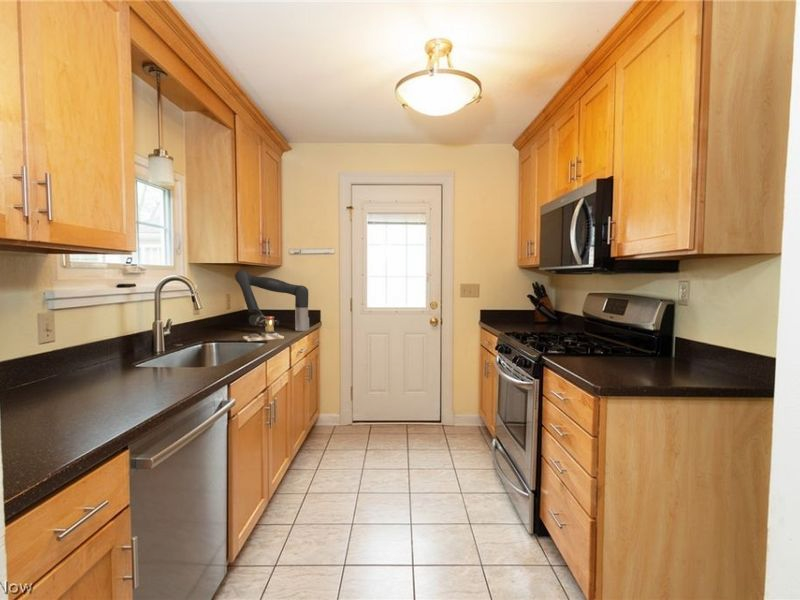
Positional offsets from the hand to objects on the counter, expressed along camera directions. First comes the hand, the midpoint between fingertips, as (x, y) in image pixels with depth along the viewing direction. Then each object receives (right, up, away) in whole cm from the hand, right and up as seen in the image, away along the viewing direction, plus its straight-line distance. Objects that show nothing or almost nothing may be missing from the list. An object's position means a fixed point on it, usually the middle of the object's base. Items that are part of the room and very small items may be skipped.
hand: (270, 323), depth 254 cm
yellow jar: (-1, -8, +2) cm, 8 cm away
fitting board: (-4, -9, 0) cm, 10 cm away
